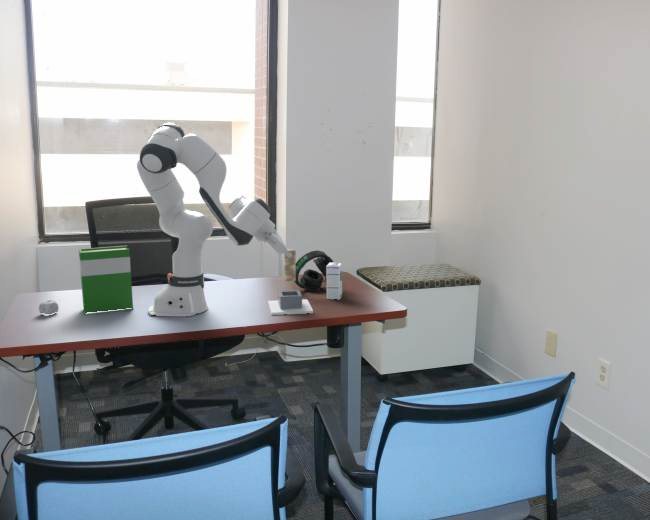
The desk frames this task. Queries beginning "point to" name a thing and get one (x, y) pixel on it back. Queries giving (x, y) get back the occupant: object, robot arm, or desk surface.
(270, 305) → the socket
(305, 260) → the headset
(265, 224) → the robot arm
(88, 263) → the hardback book
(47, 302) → the die
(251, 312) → the desk surface
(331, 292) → the syrup box
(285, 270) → the peg
